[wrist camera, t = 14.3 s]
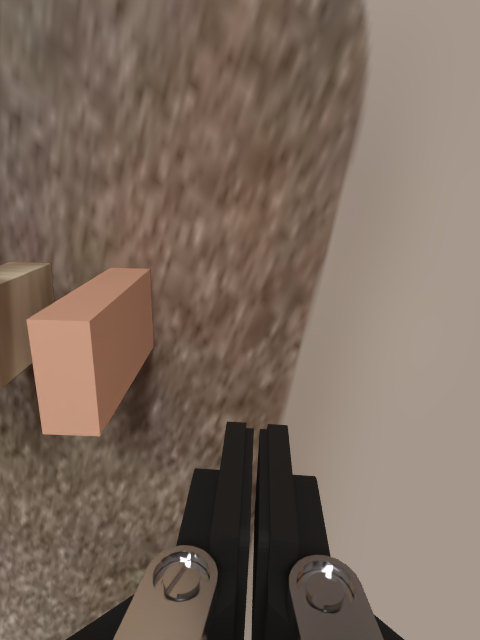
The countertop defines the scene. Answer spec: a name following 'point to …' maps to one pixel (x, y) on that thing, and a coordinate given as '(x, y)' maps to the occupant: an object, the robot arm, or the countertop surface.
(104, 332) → the domino
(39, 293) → the domino
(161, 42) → the countertop surface
